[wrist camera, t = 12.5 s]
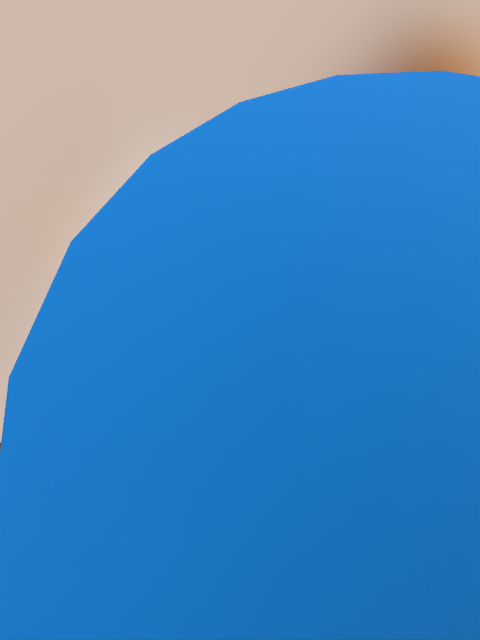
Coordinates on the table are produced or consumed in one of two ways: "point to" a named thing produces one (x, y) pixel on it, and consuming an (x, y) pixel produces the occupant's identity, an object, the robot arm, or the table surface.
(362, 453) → the thermos
